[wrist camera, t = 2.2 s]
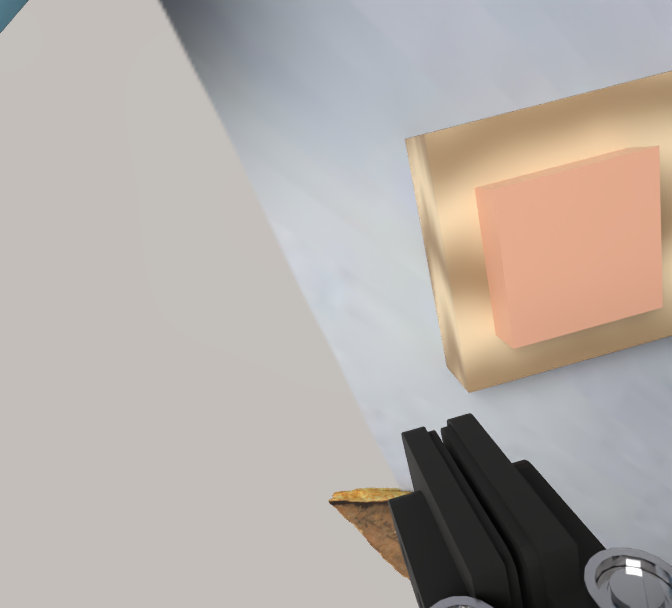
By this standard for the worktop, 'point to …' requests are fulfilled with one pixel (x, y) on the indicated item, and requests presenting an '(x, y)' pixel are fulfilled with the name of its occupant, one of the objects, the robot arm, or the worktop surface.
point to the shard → (373, 520)
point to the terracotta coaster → (573, 245)
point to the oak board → (512, 161)
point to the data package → (9, 11)
